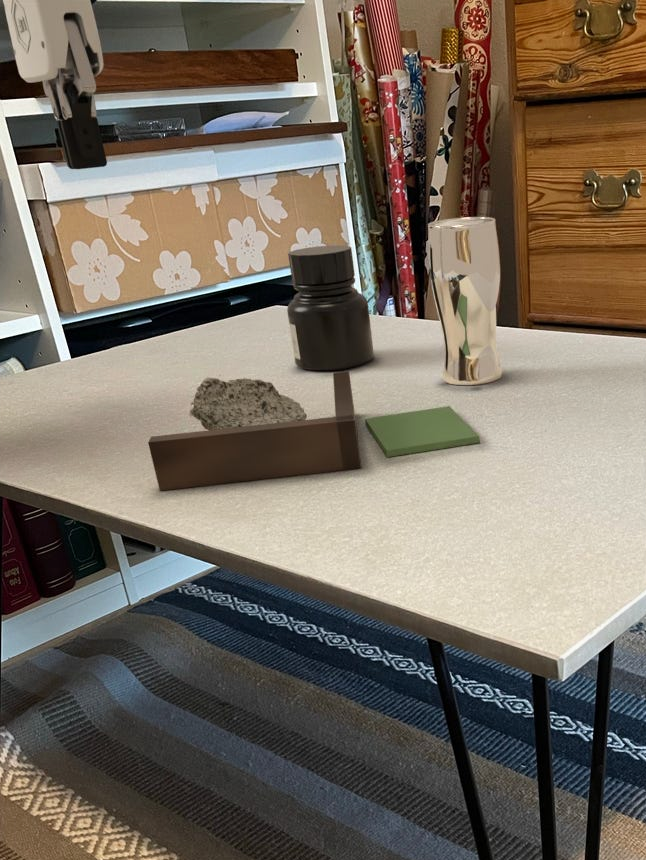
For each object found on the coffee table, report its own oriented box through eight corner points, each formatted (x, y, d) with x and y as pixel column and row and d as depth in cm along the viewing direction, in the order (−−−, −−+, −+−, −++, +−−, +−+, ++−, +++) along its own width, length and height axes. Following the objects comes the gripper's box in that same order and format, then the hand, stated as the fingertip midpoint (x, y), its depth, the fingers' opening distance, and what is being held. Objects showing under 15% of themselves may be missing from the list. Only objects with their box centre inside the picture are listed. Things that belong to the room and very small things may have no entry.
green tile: (387, 457, 81) (386, 450, 81) (365, 424, 89) (364, 418, 89) (480, 442, 83) (479, 435, 82) (450, 412, 91) (449, 405, 91)
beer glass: (447, 369, 105) (435, 218, 98) (511, 368, 104) (503, 215, 96) (432, 387, 99) (417, 228, 92) (499, 386, 98) (490, 224, 90)
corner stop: (159, 491, 78) (147, 442, 76) (183, 431, 91) (174, 389, 89) (361, 468, 79) (354, 419, 77) (354, 413, 93) (349, 371, 91)
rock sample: (252, 422, 78) (222, 336, 81) (202, 476, 83) (175, 392, 85) (348, 443, 86) (318, 364, 89) (298, 491, 91) (271, 414, 93)
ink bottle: (327, 350, 117) (312, 243, 111) (390, 353, 113) (378, 243, 107) (278, 371, 110) (259, 257, 104) (344, 375, 106) (328, 257, 100)
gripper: (-39, -62, 85) (23, 171, 94) (9, -92, 75) (74, 173, 84) (48, -60, 89) (100, 163, 98) (105, -89, 79) (157, 164, 88)
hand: (88, 167), depth 91 cm, fingers closed
